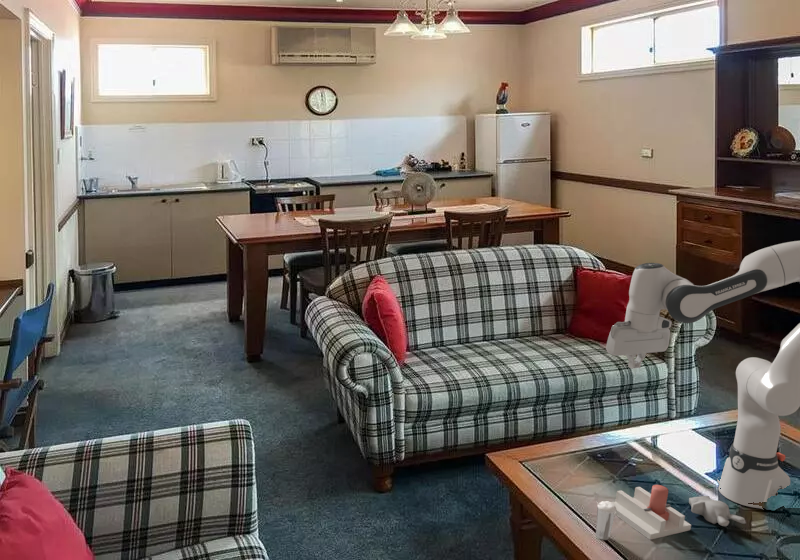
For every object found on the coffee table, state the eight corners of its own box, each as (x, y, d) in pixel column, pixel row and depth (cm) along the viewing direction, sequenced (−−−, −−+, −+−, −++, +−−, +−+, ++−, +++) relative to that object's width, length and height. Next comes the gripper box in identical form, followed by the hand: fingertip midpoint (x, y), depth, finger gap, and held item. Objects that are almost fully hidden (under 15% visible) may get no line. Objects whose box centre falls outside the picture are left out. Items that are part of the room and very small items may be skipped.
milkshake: (592, 528, 189) (598, 492, 187) (613, 535, 187) (619, 499, 184) (587, 536, 185) (593, 499, 183) (609, 543, 183) (615, 506, 181)
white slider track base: (645, 499, 206) (647, 484, 205) (690, 530, 192) (693, 513, 191) (606, 508, 200) (608, 491, 199) (649, 539, 186) (652, 522, 185)
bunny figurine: (709, 490, 207) (751, 512, 193) (707, 507, 207) (749, 531, 193) (681, 493, 204) (721, 515, 189) (679, 511, 204) (719, 534, 190)
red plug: (655, 511, 196) (660, 483, 195) (668, 520, 193) (673, 491, 191) (642, 514, 194) (647, 485, 193) (655, 523, 191) (660, 493, 189)
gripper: (620, 325, 200) (613, 374, 203) (676, 321, 209) (668, 368, 212) (604, 319, 205) (598, 366, 208) (659, 315, 214) (652, 361, 217)
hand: (634, 367), depth 210 cm, fingers closed
